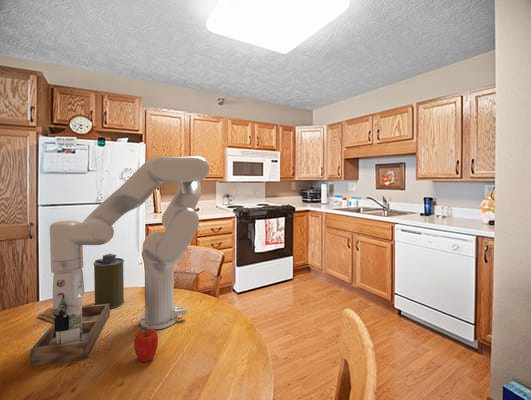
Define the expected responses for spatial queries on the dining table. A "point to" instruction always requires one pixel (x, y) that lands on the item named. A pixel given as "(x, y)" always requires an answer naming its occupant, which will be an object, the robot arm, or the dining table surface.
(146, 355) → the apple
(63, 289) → the robot arm
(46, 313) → the shard
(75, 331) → the syrup box
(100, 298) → the canister
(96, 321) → the tray
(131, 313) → the dining table surface
